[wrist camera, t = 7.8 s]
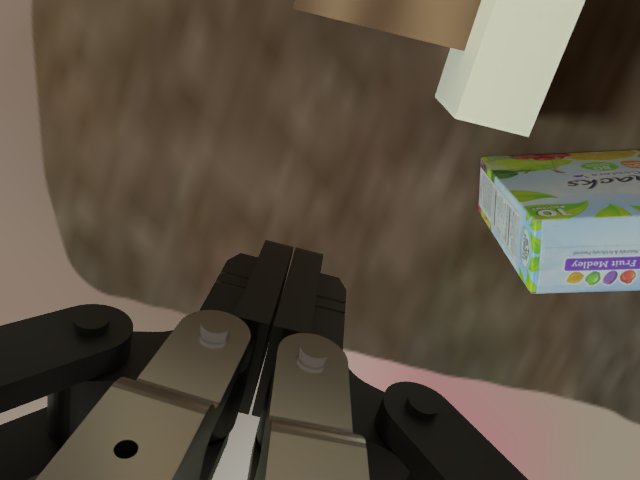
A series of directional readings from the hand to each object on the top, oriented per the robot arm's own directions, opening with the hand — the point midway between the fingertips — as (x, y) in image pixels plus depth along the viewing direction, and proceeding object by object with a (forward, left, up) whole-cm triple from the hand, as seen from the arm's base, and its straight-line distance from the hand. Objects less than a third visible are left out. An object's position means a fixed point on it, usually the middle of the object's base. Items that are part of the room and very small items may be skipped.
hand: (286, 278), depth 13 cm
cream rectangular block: (-11, -10, -31) cm, 34 cm away
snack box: (-24, +1, -31) cm, 40 cm away
